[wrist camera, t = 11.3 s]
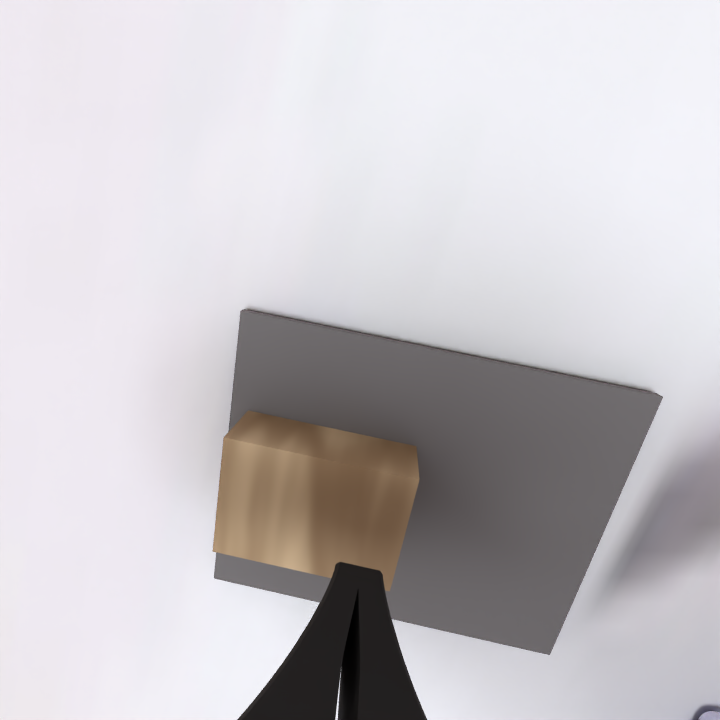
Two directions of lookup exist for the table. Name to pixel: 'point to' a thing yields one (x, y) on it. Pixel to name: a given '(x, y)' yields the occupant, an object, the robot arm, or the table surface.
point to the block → (313, 496)
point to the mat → (457, 469)
